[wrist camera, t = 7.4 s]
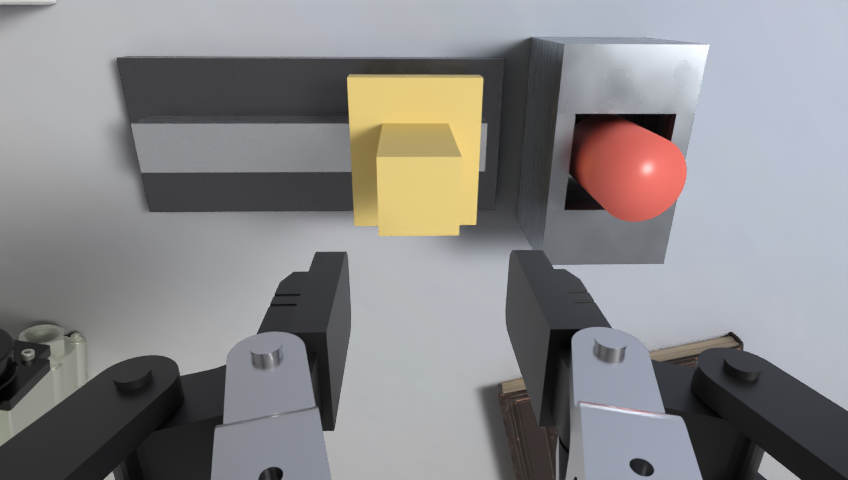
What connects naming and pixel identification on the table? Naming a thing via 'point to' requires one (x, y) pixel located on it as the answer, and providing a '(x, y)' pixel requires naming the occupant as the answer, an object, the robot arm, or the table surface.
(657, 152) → the button
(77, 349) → the pneumatic valve
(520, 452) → the hardcover book
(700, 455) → the robot arm
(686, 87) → the grey button housing
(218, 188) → the rail
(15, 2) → the ink cartridge box
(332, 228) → the table surface
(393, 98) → the yellow flanged block
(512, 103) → the table surface
